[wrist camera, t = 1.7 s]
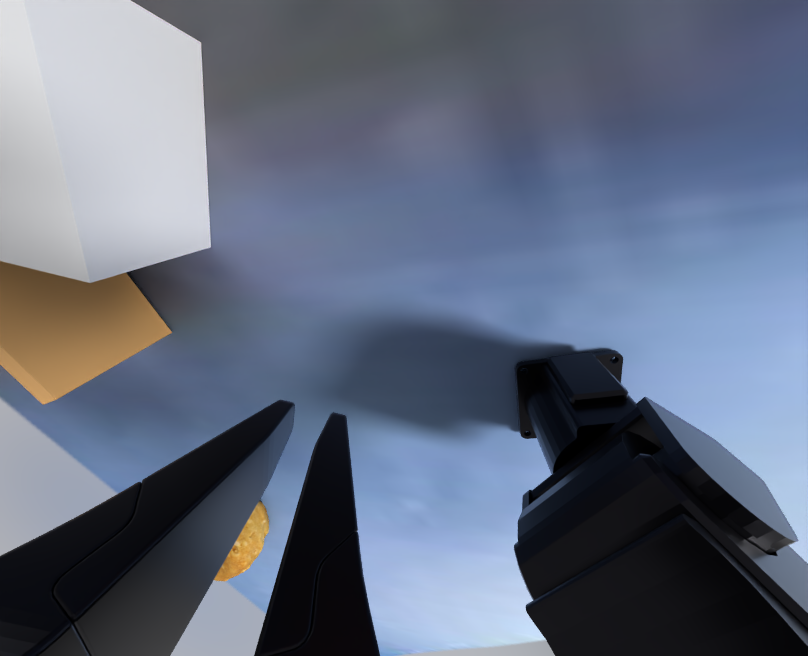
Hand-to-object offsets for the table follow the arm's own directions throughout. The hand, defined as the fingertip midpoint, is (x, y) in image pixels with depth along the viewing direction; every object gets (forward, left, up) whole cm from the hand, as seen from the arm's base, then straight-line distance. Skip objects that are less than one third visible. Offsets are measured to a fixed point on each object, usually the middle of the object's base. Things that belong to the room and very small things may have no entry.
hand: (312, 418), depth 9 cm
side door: (+3, +17, -12) cm, 21 cm away
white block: (+11, +11, -12) cm, 20 cm away
